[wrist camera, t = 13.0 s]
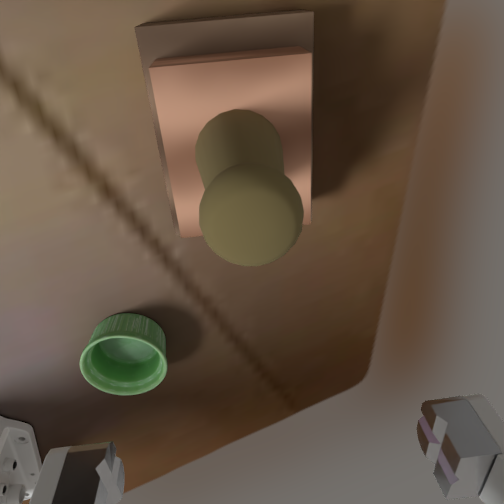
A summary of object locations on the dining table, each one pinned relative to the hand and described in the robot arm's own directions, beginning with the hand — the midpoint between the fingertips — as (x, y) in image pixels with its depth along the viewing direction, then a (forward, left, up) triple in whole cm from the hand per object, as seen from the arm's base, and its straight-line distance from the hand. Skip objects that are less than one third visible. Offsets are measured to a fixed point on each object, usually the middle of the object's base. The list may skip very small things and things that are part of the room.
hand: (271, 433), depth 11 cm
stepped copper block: (0, -1, -29) cm, 29 cm away
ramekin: (-23, +13, -29) cm, 39 cm away
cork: (0, -1, -21) cm, 21 cm away
